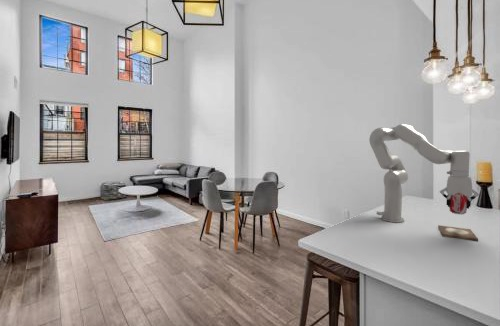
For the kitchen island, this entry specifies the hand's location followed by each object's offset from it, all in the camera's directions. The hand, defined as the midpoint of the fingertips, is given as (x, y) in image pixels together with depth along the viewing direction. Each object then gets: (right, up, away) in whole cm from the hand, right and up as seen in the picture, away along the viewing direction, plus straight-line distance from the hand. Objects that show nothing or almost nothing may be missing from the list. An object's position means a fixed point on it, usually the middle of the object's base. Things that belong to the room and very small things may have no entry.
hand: (458, 207), depth 131 cm
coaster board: (0, -14, +1) cm, 14 cm away
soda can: (0, -3, 0) cm, 3 cm away
